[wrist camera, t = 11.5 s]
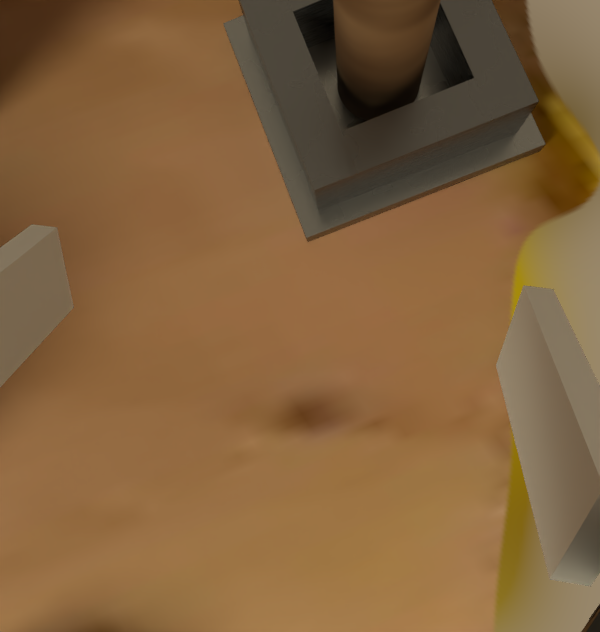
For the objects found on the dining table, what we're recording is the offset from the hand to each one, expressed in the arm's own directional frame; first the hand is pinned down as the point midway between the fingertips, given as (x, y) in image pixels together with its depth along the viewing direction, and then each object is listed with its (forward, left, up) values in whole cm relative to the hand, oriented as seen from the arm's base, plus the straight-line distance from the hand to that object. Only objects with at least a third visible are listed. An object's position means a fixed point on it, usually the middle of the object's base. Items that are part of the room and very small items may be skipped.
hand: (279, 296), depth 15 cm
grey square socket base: (-10, +7, -11) cm, 16 cm away
